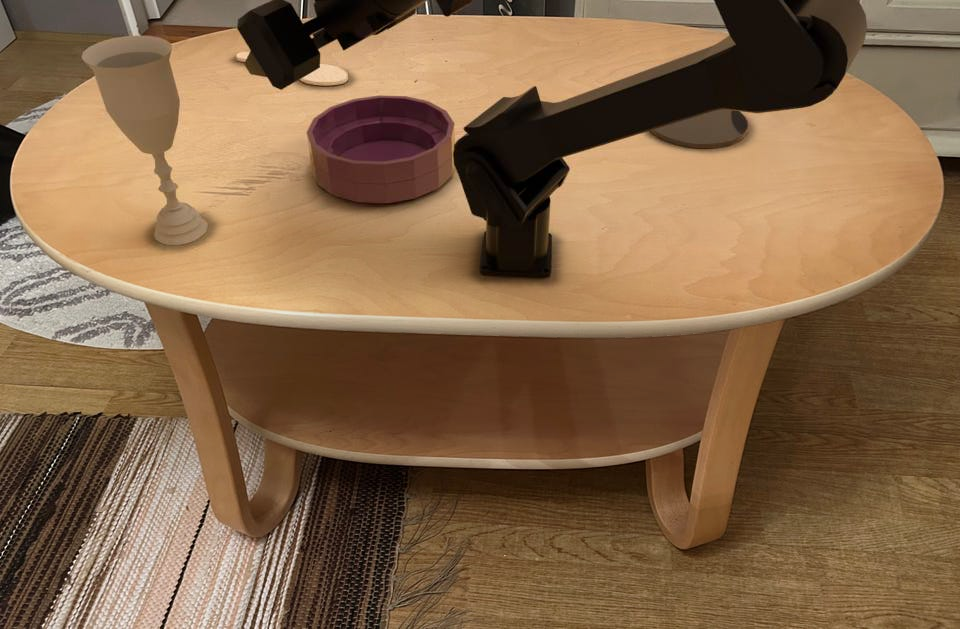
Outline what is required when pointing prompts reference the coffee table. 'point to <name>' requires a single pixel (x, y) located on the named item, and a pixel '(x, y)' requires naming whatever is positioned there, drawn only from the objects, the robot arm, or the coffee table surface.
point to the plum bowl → (382, 148)
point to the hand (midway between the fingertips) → (282, 50)
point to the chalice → (146, 117)
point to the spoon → (316, 73)
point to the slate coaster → (706, 130)
